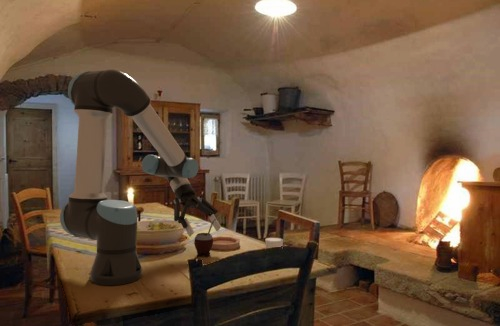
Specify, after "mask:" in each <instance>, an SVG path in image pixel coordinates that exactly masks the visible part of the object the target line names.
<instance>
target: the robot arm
mask: <svg viewBox="0 0 500 326" xmlns="http://www.w3.org/2000/svg"><path fill="white" fill-rule="evenodd" d="M67 87H68V88H67V95H68V99H69V100H70V102H71V104H72V105H73V106H74V109H73V111H74V113H75V114H76V115H77V116H78V128H77V129H78V130H77V131H78V132H77V145H76V146H77V147H76V160H75V162H76V163H75V164H76V165H75V173H74V175H75V178H74V191H72V193H70V194H69V195H68V202H66V203H65V204H64V206H63V207H62V208H61V211H60V213H59V214H60V215H59V222H60V225H61V227H62V229H63V230H64V231H65V232H66V233H67V234H69V235H70V236H74V237H75V238H79V239H80V238H81V239H82V238H83V239H87V240H92V241H96V253H95V257H94V261H93V263H92V266H91V269H90V273H89V277H90V279H89V280H90V282H91V283H93V284H95V285H98V286H99V285H100V286H102V285H103V286H119V285H126V284H130V283H133V282H136V281H138V280H140V279H141V278H142V275H143V269H142V264H141V262H140V258H139V256H138V252H137V241H138V239H137V238H138V237H137V235H138V214H137V207H136V205H135V203H134V204H133V203H132V202H129V201H126V200H120V199H119V200H118V199H108V196H107V195H106V194H105V193H104V178H105V177H104V176H105V161H106V148H107V147H106V146H107V130H108V129H107V128H108V120H109V118H111V117H112V116H113V113H114V112H113V111H114V110H113V109H114V108H116V109H119V110H120V111H121V112H122V113H123V114H124V116H126V117H128V118H131V119H132V121H133V122H134V123H135V124H136V125H137V127H138V129H140V131H141V132H142V133H143V135H144V136H145V137H146V139H147V140H148V141H149V143H150V144H151V145H152V146H153V148H154V150H156V152H157V153H158V154H159V155H160V156H159V155H156V154H155V155H154V154H147V155H145V157H144V158H143V159H142V161H141V169H142V171H143V172H144V173H145V174H149V175H152V176H156V177H160V178H164V179H166V180H167V182H168V183H169V186H170V187H171V190H172V191H173V193H174V196H175V198H174V200H173V201H172V204H173V220H174V222H177V223H178V224H180V225H181V226H182V228H183V229H185V231H186V233H187V235H188V237H192V236H193V234H194V233H195V231H194V229H193V227H192V226H191V223H190V221H189V219H188V218H187V217H186V214H187V211H188V210H190V209H196V210H198V211H200V212H202V213H203V214H205V215H207V216H208V217H209V218H208V219H209V220H210V223H212V222H213V220H214V219H216V218H217V217H218V216H217V213H218V210H217V208H215V206H213V205H212V204H211V203H210V202H209V201H207V200H206V199H205V197H204V196H203V194H201V195H199V196H197V195H196V194H195V192H196V191H195V189H194V188H193V186H192V184H191V182H190V180H189V179H193V178H195V177H196V176H197V174H198V172H199V168H200V167H199V163H198V161H197V159H195V158H192V157H188V156H187V155H186V153H185V152H184V150H183V149H182V148H181V146H180V145H179V144H178V142H177V140H176V139H175V137H174V136H173V135H172V133H171V131H169V129H168V127H167V126H166V125H165V123H164V122H163V120H162V119H161V118H160V116H159V115H158V113H157V112H156V110H155V109H154V108H153V106H152V105H151V103H152V100H151V99H152V98H150V96H149V95H148V93H147V92H146V90H145V89H144V88H143V87H142V86H141V84H140V83H139V82H137V81H136V80H135V79H134V78H133V77H131V76H130V75H128V74H127V73H125V72H123V71H120V70H117V69H107V70H93V71H92V70H90V71H85V72H81V73H78V74H76V75H75V76H74V77H73V78H72V79H71V80H70V81H69V83H68V86H67ZM188 178H189V179H188ZM181 205H182V207H181ZM180 209H181V210H180ZM185 217H186V218H185ZM212 227H213V228H214V229H215V230H214V231H215V232H219V230H220V229H221V228H222V226H221V223H220V222H219V218H217V219H216V220H215V221H214V223H213V225H212Z"/></svg>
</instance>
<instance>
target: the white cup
mask: <svg viewBox="0 0 500 326" xmlns="http://www.w3.org/2000/svg"><path fill="white" fill-rule="evenodd" d="M283 244H284V239H283V238H281V237H266V238H265V249H266V248H270V247H281V246H284V245H283Z"/></svg>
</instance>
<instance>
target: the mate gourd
mask: <svg viewBox="0 0 500 326" xmlns="http://www.w3.org/2000/svg"><path fill="white" fill-rule="evenodd" d="M216 217H217V218H216V219H219V218H220V216H216ZM216 219H214V220H213V222H210V227H209V229H208V232H198V233H197V234H196V235H195V238H194V241H193V242H194V247H195V250H196V253H197V254H196V258H199V257H203V256H204V257H207V258H209V257H210V254H211V252H210V251H211V250H212V249H211V248H212V245H213V237H214V236H213V235H212V234H211V233H210V232H211V229H212V227H213V223H214V221H215V220H216Z"/></svg>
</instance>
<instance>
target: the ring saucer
mask: <svg viewBox="0 0 500 326" xmlns="http://www.w3.org/2000/svg"><path fill="white" fill-rule="evenodd" d="M212 237H213V245H212V248H211V250H217V251H229V250H236V249H238V248H240V247H241V245H240V238H236V237H233V236H223V235H222V236H212Z"/></svg>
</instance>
